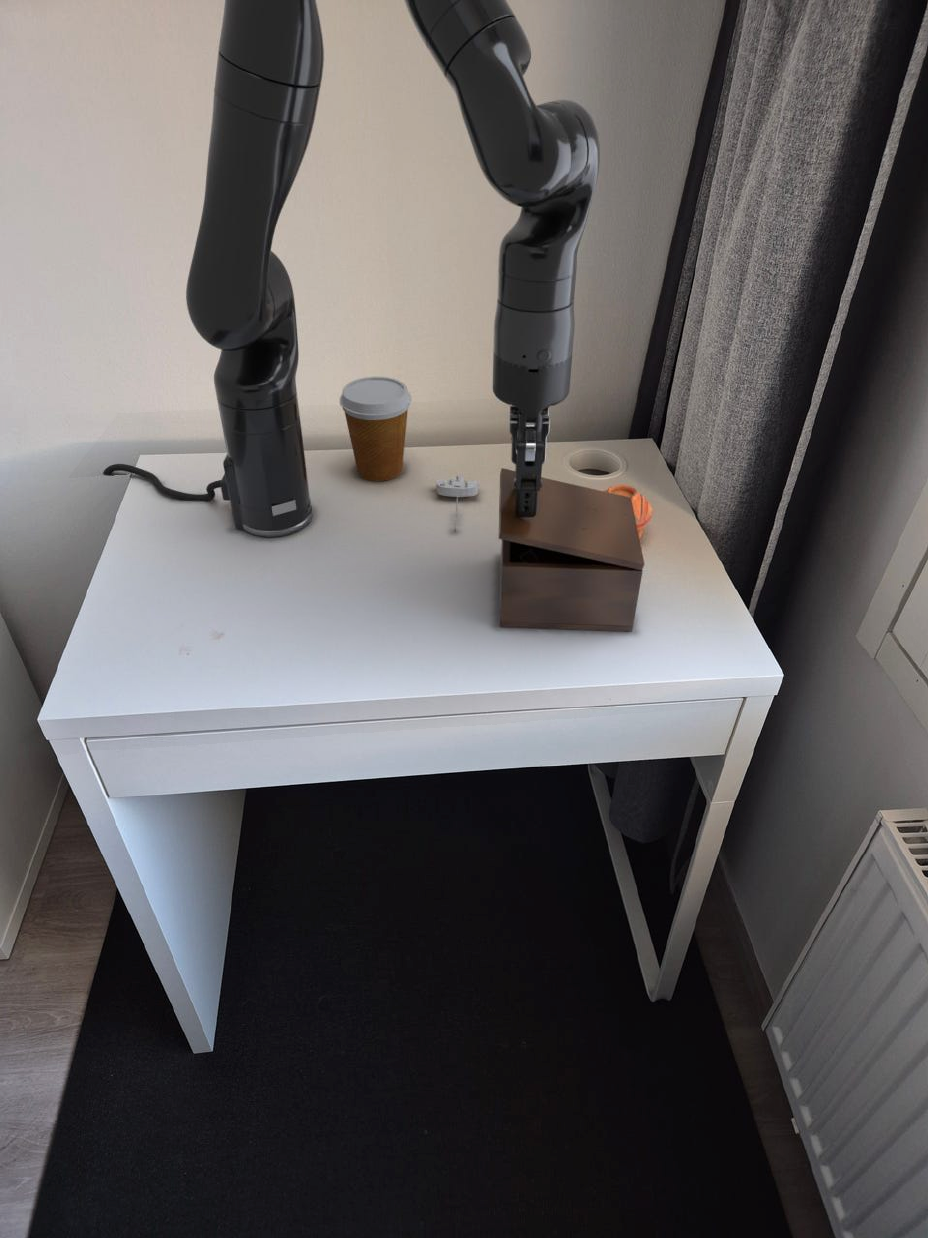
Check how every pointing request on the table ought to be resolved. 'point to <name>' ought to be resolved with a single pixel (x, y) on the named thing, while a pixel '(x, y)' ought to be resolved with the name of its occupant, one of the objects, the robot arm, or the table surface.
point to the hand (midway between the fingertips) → (525, 500)
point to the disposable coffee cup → (377, 425)
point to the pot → (635, 504)
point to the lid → (573, 522)
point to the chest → (565, 591)
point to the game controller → (457, 489)
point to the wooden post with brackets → (528, 557)
